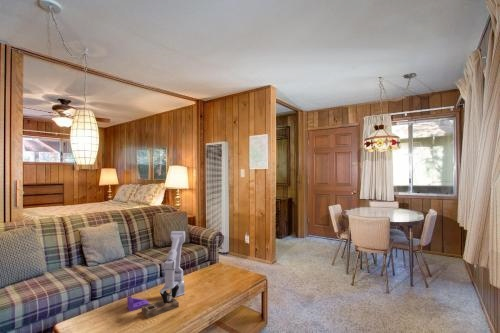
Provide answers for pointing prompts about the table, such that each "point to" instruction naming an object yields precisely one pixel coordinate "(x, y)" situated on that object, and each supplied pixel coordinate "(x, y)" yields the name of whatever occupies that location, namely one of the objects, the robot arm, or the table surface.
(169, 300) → the pin
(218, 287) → the table surface
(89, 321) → the table surface
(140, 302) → the bracket
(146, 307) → the board
